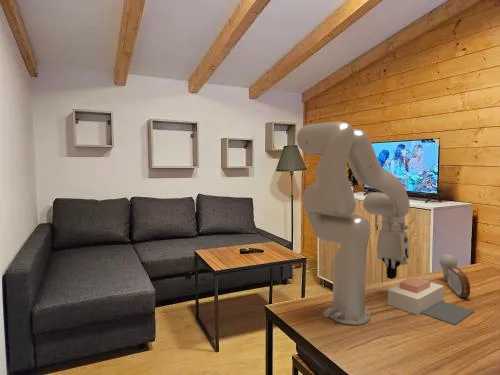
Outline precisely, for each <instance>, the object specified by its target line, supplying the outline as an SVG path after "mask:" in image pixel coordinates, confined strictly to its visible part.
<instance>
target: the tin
mask: <svg viewBox="0 0 500 375" xmlns="http://www.w3.org/2000/svg"><path fill="white" fill-rule="evenodd" d="M447 281H448V282H447ZM447 281H446V282H447V285H448V286H449V289H451V291H453V293H454V294H456V296H457V297H459V298H467V299H468V298H469V297H470V295H471V285H470V280H469V278H468V275H467V274H466V273H465V272H464V271H463V270H462V269H460V268H459V267H458V266H456V267H449V268H448V269H447Z"/></svg>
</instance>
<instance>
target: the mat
mask: <svg viewBox="0 0 500 375" xmlns="http://www.w3.org/2000/svg"><path fill="white" fill-rule="evenodd" d="M474 312H475V310H471V309H469V308H466V307H461V306H459V305H455V304H452V303H449V302H446V301H444V300H443V301H440V302H438V303H436V304H435V305H433V306H431V307H429V308H428V309H426V310H424V311H422V312H421V313H420V314H422V315H425V316H428V317H430V318H433V319H436V320H440V321H442V322H445V323H447V324H451V325H453V326H456V325H457V324H458V325H459V323H461V322H462V321H464V320H465V319H466V318H468V317H469V316H471V315H472V314H474Z"/></svg>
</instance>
